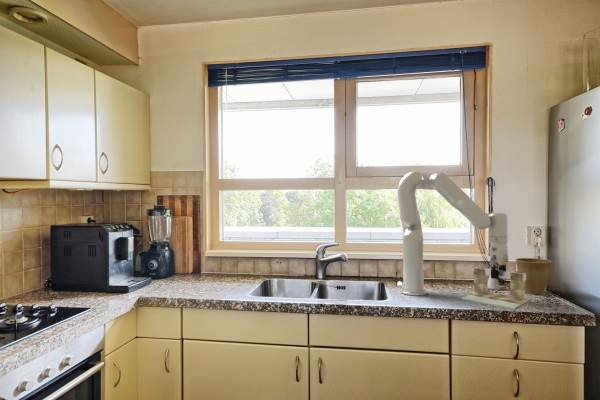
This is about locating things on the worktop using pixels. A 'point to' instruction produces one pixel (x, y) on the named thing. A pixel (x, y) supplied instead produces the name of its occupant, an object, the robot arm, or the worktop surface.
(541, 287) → the plant pot
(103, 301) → the worktop surface
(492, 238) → the robot arm
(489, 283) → the flask
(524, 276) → the rail
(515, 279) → the rail rack
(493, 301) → the mat
